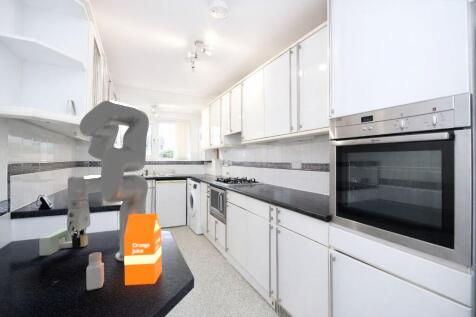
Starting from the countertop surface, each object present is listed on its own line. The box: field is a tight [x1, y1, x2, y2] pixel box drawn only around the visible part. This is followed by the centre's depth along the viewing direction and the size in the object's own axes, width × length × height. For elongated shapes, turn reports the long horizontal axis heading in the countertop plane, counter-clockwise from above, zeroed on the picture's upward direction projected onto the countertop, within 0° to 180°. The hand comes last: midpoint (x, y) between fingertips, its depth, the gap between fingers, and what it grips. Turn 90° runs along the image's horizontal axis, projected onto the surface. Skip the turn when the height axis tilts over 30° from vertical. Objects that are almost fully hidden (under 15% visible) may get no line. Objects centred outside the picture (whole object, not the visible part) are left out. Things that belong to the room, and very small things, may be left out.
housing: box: [38, 226, 72, 256], centre depth 101 cm, size 4×16×7 cm, turn 6°
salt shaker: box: [85, 251, 105, 291], centre depth 68 cm, size 4×4×10 cm
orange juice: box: [123, 213, 163, 286], centre depth 72 cm, size 8×9×20 cm
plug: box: [58, 233, 89, 250], centre depth 101 cm, size 14×4×4 cm, turn 96°
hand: (78, 244), depth 102 cm, fingers closed on plug, 2 cm apart
